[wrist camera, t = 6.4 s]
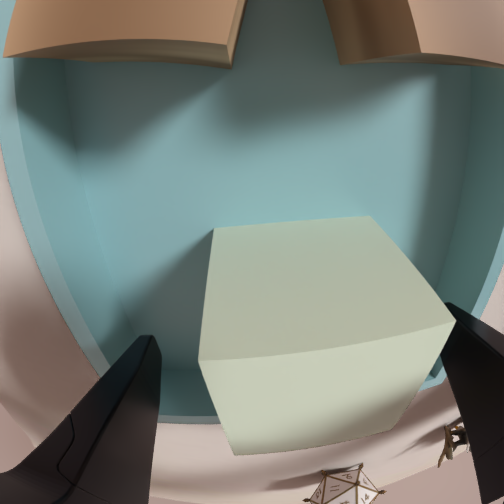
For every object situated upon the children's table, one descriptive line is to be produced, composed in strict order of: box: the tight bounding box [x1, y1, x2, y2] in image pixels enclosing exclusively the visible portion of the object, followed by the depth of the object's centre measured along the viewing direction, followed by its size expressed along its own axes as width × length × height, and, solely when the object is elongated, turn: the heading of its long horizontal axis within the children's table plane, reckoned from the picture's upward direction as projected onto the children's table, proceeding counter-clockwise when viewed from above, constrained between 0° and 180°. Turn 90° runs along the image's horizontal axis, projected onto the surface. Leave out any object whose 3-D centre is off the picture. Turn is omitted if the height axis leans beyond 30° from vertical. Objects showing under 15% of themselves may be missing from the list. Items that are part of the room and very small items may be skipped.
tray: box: [0, 0, 504, 424], centre depth 7 cm, size 15×19×3 cm
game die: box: [302, 463, 386, 504], centre depth 23 cm, size 9×8×10 cm
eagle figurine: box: [438, 425, 471, 468], centre depth 21 cm, size 8×7×9 cm
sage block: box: [198, 216, 456, 455], centre depth 8 cm, size 5×5×5 cm
